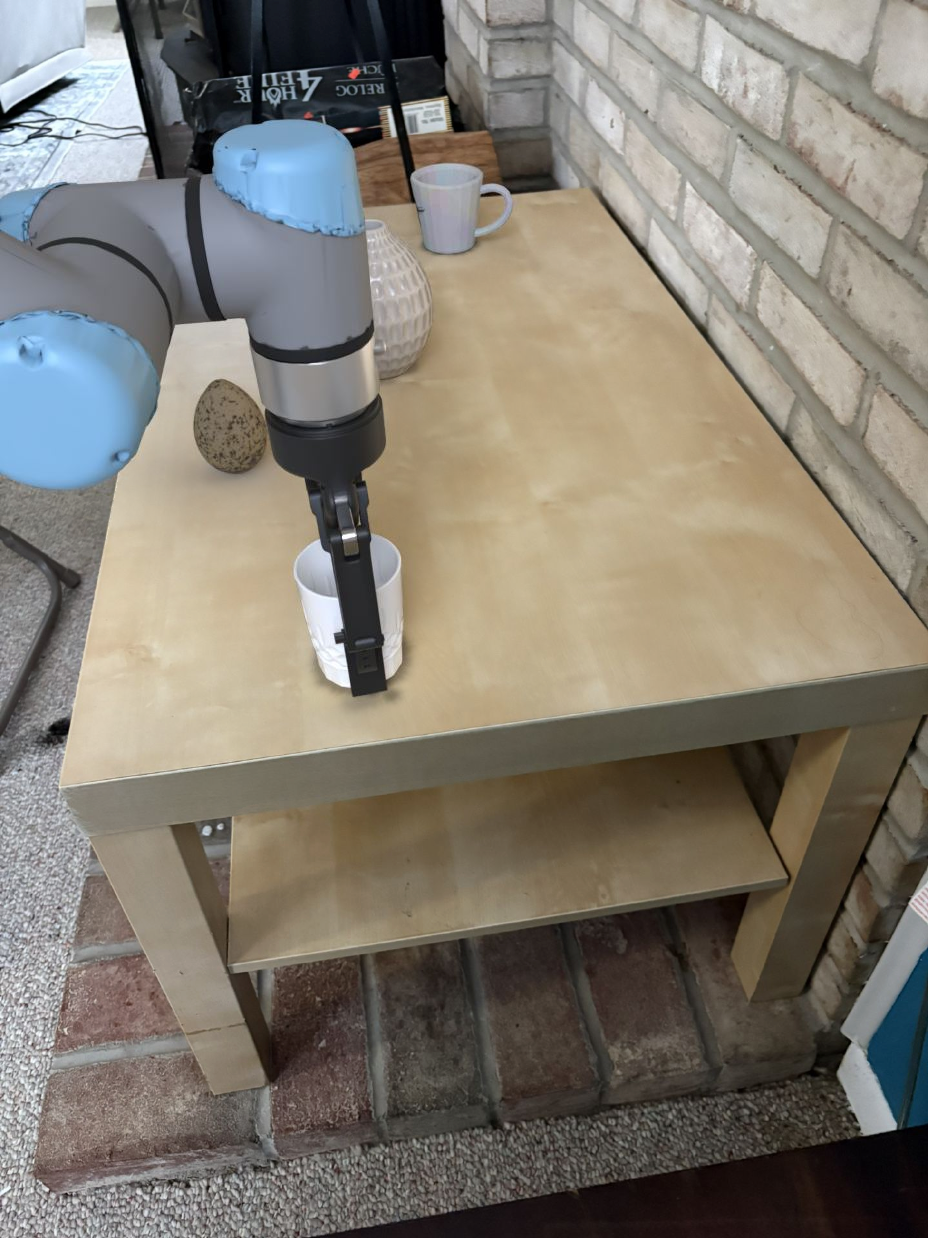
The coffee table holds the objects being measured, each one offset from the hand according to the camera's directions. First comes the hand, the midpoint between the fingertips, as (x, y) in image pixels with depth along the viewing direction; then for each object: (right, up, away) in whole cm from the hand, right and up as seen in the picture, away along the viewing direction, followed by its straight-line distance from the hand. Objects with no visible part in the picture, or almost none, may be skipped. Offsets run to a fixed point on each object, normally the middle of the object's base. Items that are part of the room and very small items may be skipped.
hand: (360, 653), depth 74 cm
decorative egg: (-15, +18, +22) cm, 32 cm away
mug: (+8, +58, +64) cm, 87 cm away
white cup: (0, -1, +1) cm, 1 cm away
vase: (-1, +33, +37) cm, 49 cm away
